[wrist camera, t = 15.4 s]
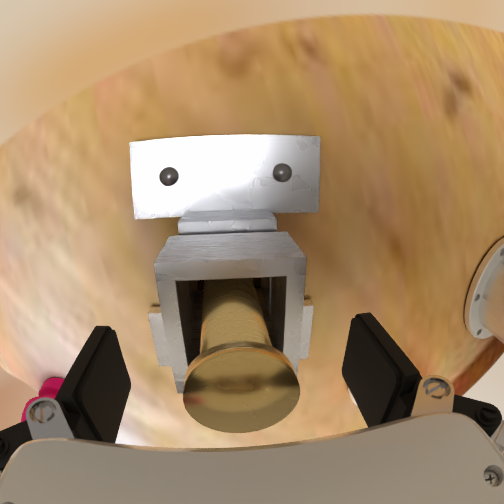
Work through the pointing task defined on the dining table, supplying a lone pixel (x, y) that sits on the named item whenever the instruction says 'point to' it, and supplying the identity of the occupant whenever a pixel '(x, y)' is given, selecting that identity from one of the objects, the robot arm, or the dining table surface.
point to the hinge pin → (237, 364)
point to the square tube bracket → (229, 267)
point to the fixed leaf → (225, 187)
